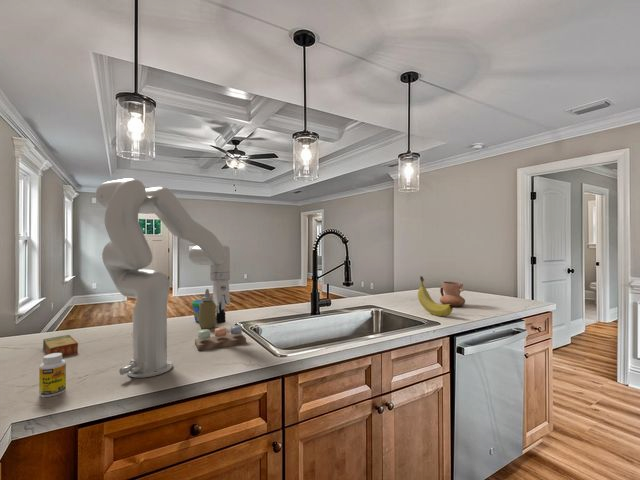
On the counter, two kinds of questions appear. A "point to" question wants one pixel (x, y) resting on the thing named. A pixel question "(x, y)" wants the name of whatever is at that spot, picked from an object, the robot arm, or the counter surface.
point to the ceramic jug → (452, 294)
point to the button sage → (203, 334)
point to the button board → (220, 341)
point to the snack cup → (196, 308)
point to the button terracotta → (220, 331)
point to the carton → (60, 345)
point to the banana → (432, 302)
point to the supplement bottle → (52, 375)
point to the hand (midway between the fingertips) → (220, 322)
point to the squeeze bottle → (207, 312)
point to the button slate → (236, 329)
